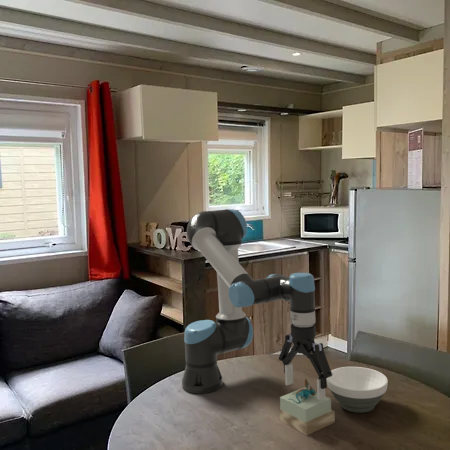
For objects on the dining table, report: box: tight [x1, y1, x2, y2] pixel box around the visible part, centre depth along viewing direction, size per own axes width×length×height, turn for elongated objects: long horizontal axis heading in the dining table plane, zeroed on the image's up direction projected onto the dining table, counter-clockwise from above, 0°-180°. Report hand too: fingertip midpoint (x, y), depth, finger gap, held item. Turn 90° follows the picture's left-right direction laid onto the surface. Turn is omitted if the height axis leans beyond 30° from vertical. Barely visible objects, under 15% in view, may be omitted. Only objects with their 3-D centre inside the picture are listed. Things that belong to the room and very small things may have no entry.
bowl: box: [327, 366, 389, 414], centre depth 159 cm, size 20×20×10 cm
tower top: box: [279, 387, 332, 423], centre depth 150 cm, size 11×11×4 cm
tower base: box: [278, 408, 336, 436], centre depth 150 cm, size 12×12×4 cm
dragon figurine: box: [288, 378, 317, 403], centre depth 149 cm, size 6×7×8 cm
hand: (304, 390), depth 150 cm, fingers open, 13 cm apart
